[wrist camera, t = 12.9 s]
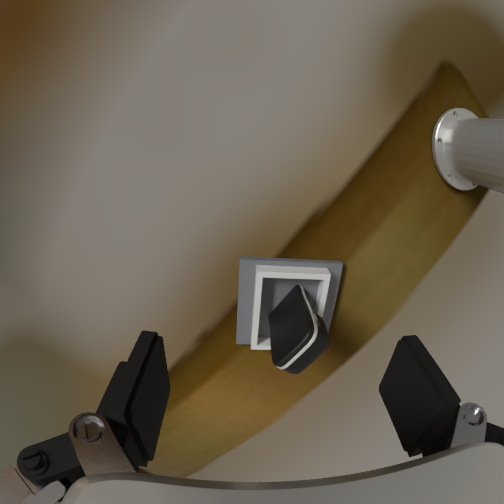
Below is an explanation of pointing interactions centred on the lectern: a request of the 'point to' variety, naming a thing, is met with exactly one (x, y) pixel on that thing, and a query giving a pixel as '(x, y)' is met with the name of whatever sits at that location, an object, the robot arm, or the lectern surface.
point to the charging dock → (281, 292)
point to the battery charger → (296, 332)
